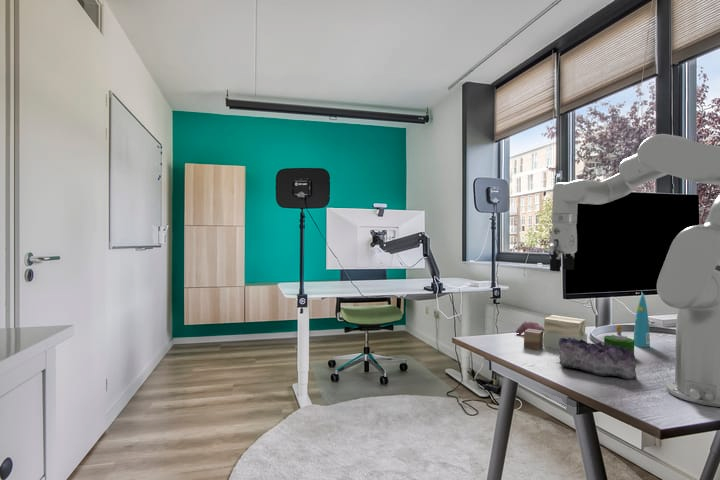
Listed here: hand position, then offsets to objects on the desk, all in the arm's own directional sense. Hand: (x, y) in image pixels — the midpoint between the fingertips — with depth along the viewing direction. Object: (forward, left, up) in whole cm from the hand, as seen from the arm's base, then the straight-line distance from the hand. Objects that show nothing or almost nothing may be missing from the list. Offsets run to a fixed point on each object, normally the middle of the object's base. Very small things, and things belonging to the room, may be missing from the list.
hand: (561, 270), depth 131 cm
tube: (+27, -21, -28) cm, 44 cm away
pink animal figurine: (+13, +13, -28) cm, 33 cm away
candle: (+8, -16, -28) cm, 33 cm away
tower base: (+8, 0, -28) cm, 29 cm away
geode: (-14, -12, -28) cm, 33 cm away
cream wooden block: (+8, 0, -23) cm, 24 cm away
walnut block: (-2, +8, -28) cm, 29 cm away
